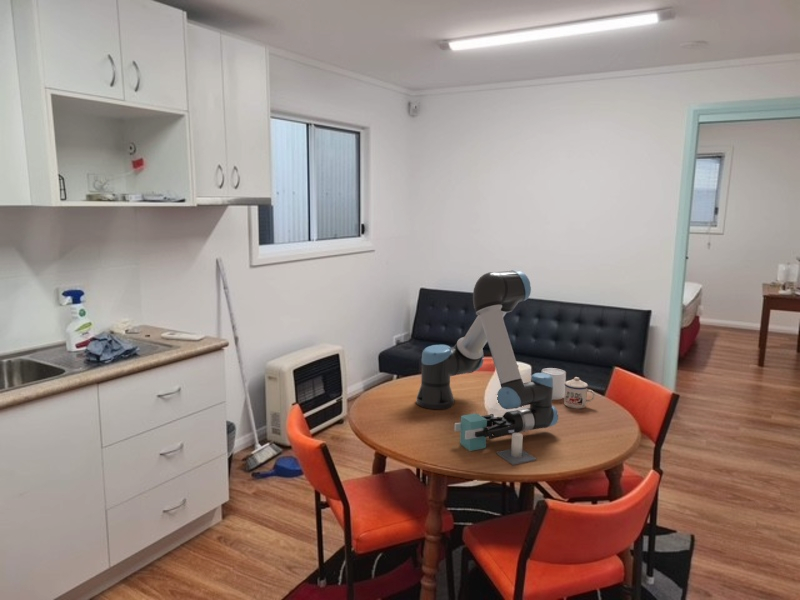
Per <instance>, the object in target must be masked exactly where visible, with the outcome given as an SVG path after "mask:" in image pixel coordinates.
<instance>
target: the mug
mask: <svg viewBox="0 0 800 600" xmlns="http://www.w3.org/2000/svg"><path fill="white" fill-rule="evenodd" d="M540 373H545V374H549V375H551V376H552V378H553V393H552V400H561V399H562V398H563V399H564V396H565V382H566V381H567V371H566V370H563V369H560V368H555V367H554V368H553V367H547V368H545V367H544V368H542V369H541V372H540ZM563 399H562V400H563Z"/></svg>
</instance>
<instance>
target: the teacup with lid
mask: <svg viewBox="0 0 800 600" xmlns="http://www.w3.org/2000/svg"><path fill="white" fill-rule="evenodd" d="M588 387H589V385H588V383H587V382H585V381H583V380H581V379H580V377H577V376H575V377H574V378H573V379H570V380H566V381H565V396H564V398H563V401H564V402H563V404H564V405H565V407H568V408H571V409H584V408H586V407H587V403H590V402H592V401H594V399H595V398H596V393H595V392H594V391H593V390H592V389H588ZM588 392H589V393H591V394H592V398H590V399H588V398H587V395H588Z"/></svg>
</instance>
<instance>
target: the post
mask: <svg viewBox="0 0 800 600" xmlns="http://www.w3.org/2000/svg"><path fill="white" fill-rule="evenodd" d="M523 437H524V435H523V434H522V433H521V432H518V433H512V435H511V447H510V448H509V449H504V450H500V451H496V454H497V456H499V457H501V459H504V460H505V461H506V462H508V463H509V464H511V465H512V466H515V465H520V464H525V463H530V462H535V461H537V457H535V456H533V455H532V454H530V453H528V452H527V451H526V450H524V449H523V440H524V439H523Z"/></svg>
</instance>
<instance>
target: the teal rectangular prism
mask: <svg viewBox="0 0 800 600" xmlns="http://www.w3.org/2000/svg"><path fill="white" fill-rule="evenodd" d="M482 416H483V415H480V414H479V413H476V412H475V413H469V414H464V415H460V422H461V431H460V435H459V436H460V437H459V438H460V439H459V441H460V442H459V443H460V444H459V445H461V446H462V447H464V448H465V449H466V450H468V451H469V452H471V451H477V450H483V449H486V448H487V437H484V436H483V437H477V438H472V439H465V431H467V430H473V429H479V428H483V431H484V427H487V419H485V418H484V417H482ZM487 428H488V427H487Z"/></svg>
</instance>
